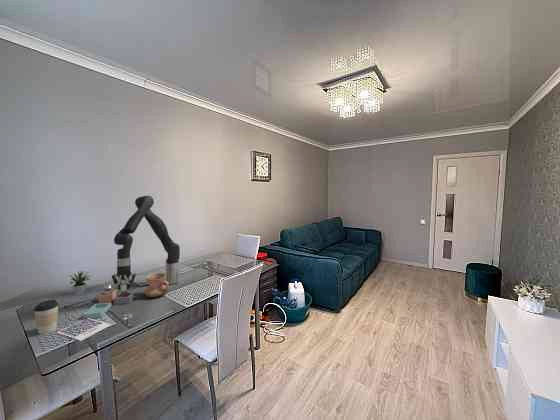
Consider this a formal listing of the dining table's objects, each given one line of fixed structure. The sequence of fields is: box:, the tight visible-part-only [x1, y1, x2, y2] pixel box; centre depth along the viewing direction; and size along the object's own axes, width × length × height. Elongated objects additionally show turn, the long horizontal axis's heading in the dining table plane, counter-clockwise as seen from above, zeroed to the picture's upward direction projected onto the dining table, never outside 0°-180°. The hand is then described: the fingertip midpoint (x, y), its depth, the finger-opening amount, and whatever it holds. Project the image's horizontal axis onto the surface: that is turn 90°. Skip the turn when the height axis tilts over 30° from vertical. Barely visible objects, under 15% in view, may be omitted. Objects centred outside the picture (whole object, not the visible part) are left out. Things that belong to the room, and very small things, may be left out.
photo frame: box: [56, 318, 111, 342], centre depth 121 cm, size 15×1×18 cm
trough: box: [82, 302, 112, 320], centre depth 138 cm, size 9×13×3 cm
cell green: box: [119, 279, 129, 295], centre depth 152 cm, size 4×4×11 cm
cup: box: [98, 289, 117, 304], centre depth 152 cm, size 7×7×6 cm
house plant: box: [66, 270, 94, 295], centre depth 162 cm, size 14×14×16 cm
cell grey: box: [103, 283, 113, 295], centre depth 152 cm, size 4×4×11 cm
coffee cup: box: [33, 299, 60, 335], centre depth 119 cm, size 9×9×15 cm
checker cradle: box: [113, 291, 136, 306], centre depth 154 cm, size 9×13×5 cm
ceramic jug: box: [144, 272, 170, 298], centre depth 163 cm, size 18×14×14 cm
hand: (124, 289), depth 152 cm, fingers closed on cell green, 4 cm apart
